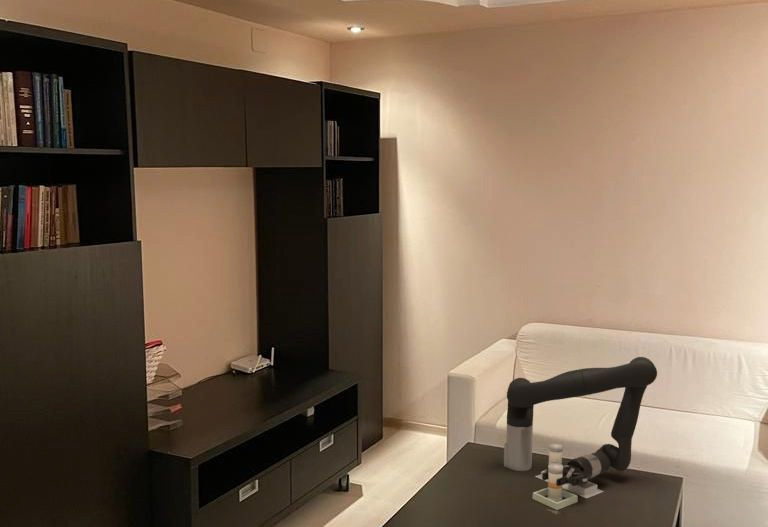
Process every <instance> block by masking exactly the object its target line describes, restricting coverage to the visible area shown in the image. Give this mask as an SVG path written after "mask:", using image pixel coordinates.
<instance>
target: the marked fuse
mask: <svg viewBox="0 0 768 527" xmlns="http://www.w3.org/2000/svg"><path fill="white" fill-rule="evenodd" d="M547 465H548V466H547V467H548V482H547V488H548V495H547V498H548V499H550V500H553V501H555V502H559V501H562V500H563V497H562V489H563V488H562V485H561V486H557V485H556V480H557V479H558V478H561V477H562V474H563V466H564V465H563V464H562V465H561V464H558V463H551V464H549V463H548V464H547Z"/></svg>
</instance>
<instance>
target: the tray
mask: <svg viewBox="0 0 768 527" xmlns="http://www.w3.org/2000/svg"><path fill="white" fill-rule="evenodd" d="M546 496H548V487H546V488H541V489H540V490H537V491H534V492H532V500H534V501H536V502H539V503H540V504H543V505H545V506H548V508H544V507H543V510H546V511H549V512H550V513H553V514H555V515H559V514H561V513H562V511H558V510H560V509H563V508H565V507H568V506H571V505H573V504H576V503H578V497H579V495H577V494H575V493H573V492H570V491H568V490H565V489H563V488H562V498H564V499H562V501H559V502H555V501H553V500H550V499H548V497H546ZM550 508H552V509H550Z"/></svg>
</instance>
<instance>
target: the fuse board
mask: <svg viewBox="0 0 768 527" xmlns="http://www.w3.org/2000/svg"><path fill="white" fill-rule="evenodd" d="M544 472H546V469H544V470H542V471H540V474H538V475H535V476H534V477H535V478H538V479H540V480H542V481H545V482H547V483H548V479H547V480H543V479H542V473H544ZM562 489H563V490H565V491H568V492H570V493H572V494H575V495H577V496H579V497H582V498H585V499H588V498H591V497H594V496H596V495H599V494H601V493H604V490H601V489H599V488H598V484H596V483H594V482H592V481H590V480H589V481H588V480H587V483H586V484H581V485H576V486H572V485H571V484H564V485H562Z"/></svg>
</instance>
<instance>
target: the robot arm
mask: <svg viewBox="0 0 768 527" xmlns="http://www.w3.org/2000/svg"><path fill="white" fill-rule="evenodd" d="M657 377H658V370H657V368H656V365H655V364H654V362H653V361H651V360H650V359H649V358H647V357H644V356H638V357H635V358H633V359H632V360H630V362H629V363H624V364H620V365H617V366H612V367H587V368H579V369H574V370H569V371H565V372H562V373H560V374H558V375H555V376H553V377H551V378H548V379H545V380H540V381H533V382H531V381H530V380H528V379H527V378H526V377H525V378H524V377H517V378H515V379H513V380H512V381H510V383H509V385H508V386H507V392H506V398H507V409H506V410H507V412H506V434H505V435H506V438H505V439H506V440H505V443H504V446H503V447H504V448H503V467H505V468H508V469H509V470H512V471H517V472H526V471H529V470H531V469H532V468H533V464H532V463H533V462H532V461H533V460H532V459H533V426H534V406H535V405H538V404H542V403H545V402H550V401H557V400H558V401H559V400H566V399H570V398H571V399H572V398H579V397H586V396H591V395H595V394H600V393H604V392H607V391H611V390H616V389H622V388H623V389H624V391H623V396H622V399H621V401H620V405H619V408H618V410H617V414H616V416H615V420H614V422H613V425H612V428H611V432H610V437H611V438H612V439H613V440H615V441H616V443H617V446H616V445H614V444H611V443H605V444H602V446H601V447H599V448H598V449H597V450H596V451H595V452H592V453H590V454H589V453H588V454H584V455H581V456H577V457H576V458H573V459H570V460H569V461H568V462H567V464H564V465H563V474H562V477H561V478H558V479H557V480H556V485H557V486H561V485H564V484H571V485H572V486H576V485H581V484H586V483H587V481H588V480H590V479H593V478H595V477H596V476H599V475H602V474H604V473H606V472H608V471H609V469H610V468H612V469H615V470H616V471H618V472H624V471H626V470H627V469H628V468H629V466H630V464H631V460H632V440H633V436H634V433H635V430H636V426H637V423H638V421H639V420H638V418H639V415H640V408H641V405H642V400H643V397H644V394H645V392H646V389H647V388H648V386H650V385H651V384H653V383H654V382H656V381H655V380H656V379H657ZM545 470H546V472H544V473H542V479H543V480H542V479H541V480H542V481H544V480H547V479H548V466H547V467H546V469H545Z"/></svg>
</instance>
